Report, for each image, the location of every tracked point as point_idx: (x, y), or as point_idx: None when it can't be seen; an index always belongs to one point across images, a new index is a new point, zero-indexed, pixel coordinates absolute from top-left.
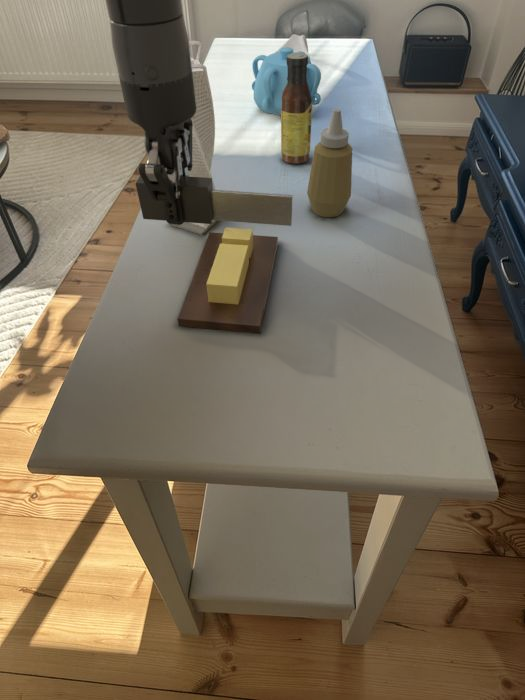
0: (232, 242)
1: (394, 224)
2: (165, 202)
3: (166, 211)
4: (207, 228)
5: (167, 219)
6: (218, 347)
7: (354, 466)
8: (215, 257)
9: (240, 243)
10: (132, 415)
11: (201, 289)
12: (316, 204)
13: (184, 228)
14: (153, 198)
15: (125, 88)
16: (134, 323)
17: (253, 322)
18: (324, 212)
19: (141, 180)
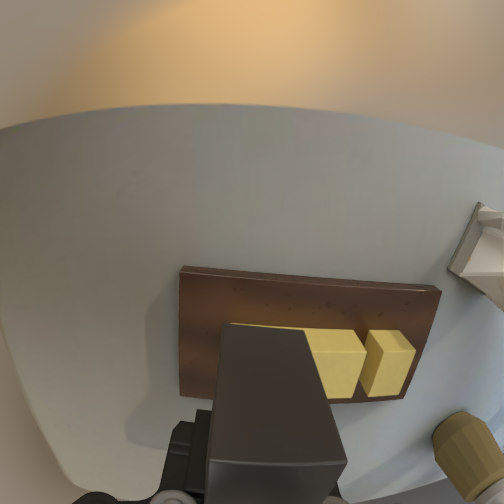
0: (374, 365)
1: (396, 482)
2: (161, 488)
3: (167, 456)
4: (460, 276)
5: (172, 431)
6: (144, 333)
7: (46, 430)
8: (319, 351)
9: (369, 377)
10: (21, 229)
11: (267, 305)
12: (448, 433)
13: (466, 233)
14: (78, 502)
15: None
16: (185, 179)
17: (185, 388)
18: (437, 434)
19: (242, 482)
